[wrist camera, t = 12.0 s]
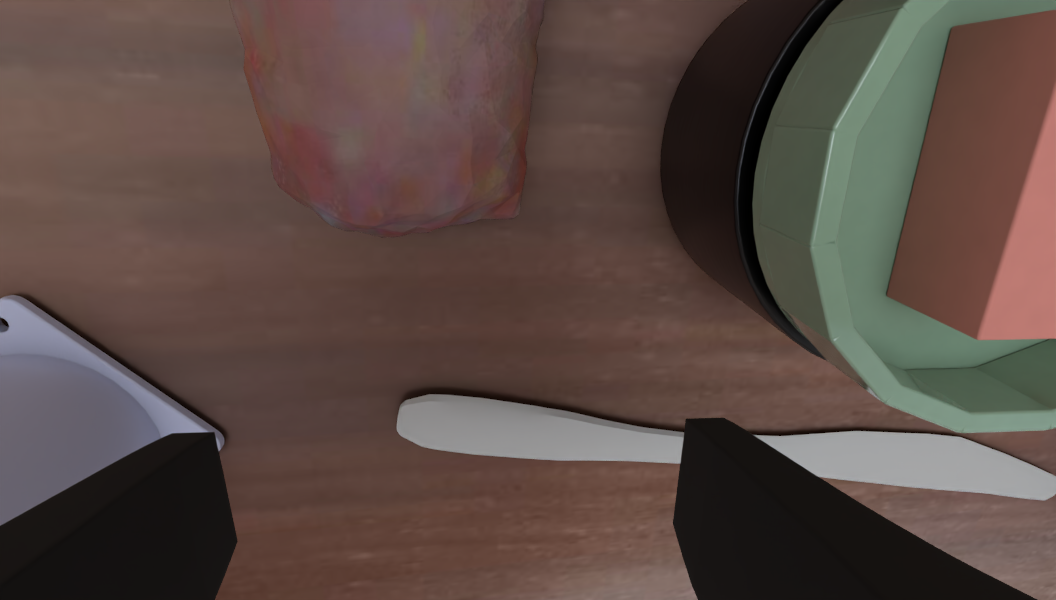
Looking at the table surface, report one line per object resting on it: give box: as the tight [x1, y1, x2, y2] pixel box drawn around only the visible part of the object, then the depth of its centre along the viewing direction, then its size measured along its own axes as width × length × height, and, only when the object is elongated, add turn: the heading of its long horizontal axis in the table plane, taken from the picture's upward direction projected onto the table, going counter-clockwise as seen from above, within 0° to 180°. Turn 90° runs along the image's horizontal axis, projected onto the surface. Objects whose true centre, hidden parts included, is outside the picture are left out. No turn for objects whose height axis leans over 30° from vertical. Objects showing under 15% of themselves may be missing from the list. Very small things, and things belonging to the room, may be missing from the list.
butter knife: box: [397, 394, 1056, 500], centre depth 21 cm, size 1×27×3 cm
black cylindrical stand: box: [661, 0, 843, 361], centre depth 15 cm, size 10×10×6 cm
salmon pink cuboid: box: [887, 10, 1056, 340], centre depth 10 cm, size 6×4×2 cm, turn 179°
